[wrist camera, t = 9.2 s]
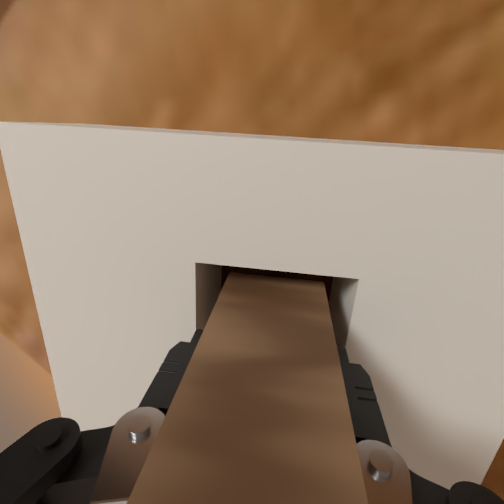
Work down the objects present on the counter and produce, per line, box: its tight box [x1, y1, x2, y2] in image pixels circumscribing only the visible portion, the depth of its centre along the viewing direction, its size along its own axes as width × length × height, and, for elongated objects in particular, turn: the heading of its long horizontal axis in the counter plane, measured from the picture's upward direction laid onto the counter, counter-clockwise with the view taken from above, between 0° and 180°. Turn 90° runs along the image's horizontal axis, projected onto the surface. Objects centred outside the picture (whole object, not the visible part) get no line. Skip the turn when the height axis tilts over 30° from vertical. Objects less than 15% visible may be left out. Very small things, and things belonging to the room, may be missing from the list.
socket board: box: [0, 122, 504, 490], centre depth 15 cm, size 20×15×5 cm
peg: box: [127, 272, 368, 504], centre depth 9 cm, size 4×4×10 cm
